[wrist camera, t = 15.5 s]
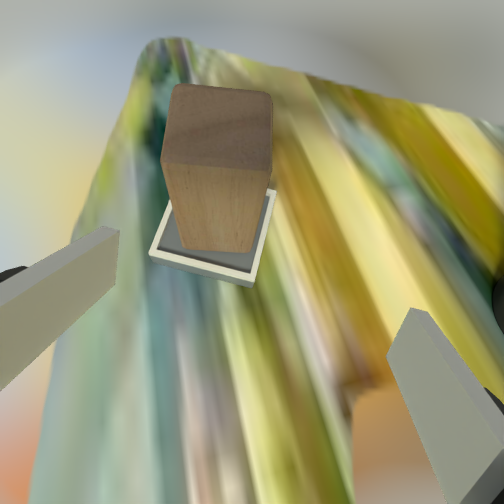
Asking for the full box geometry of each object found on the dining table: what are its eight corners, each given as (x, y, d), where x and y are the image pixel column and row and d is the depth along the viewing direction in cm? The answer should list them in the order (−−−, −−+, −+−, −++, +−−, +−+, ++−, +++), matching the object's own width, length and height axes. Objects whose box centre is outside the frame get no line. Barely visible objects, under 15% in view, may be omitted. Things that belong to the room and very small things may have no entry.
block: (188, 191, 50) (171, 77, 31) (253, 196, 51) (274, 88, 32) (181, 251, 46) (156, 162, 28) (251, 256, 47) (273, 172, 28)
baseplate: (273, 203, 54) (276, 190, 50) (251, 288, 48) (254, 280, 45) (185, 180, 54) (182, 166, 50) (153, 262, 48) (148, 253, 45)
